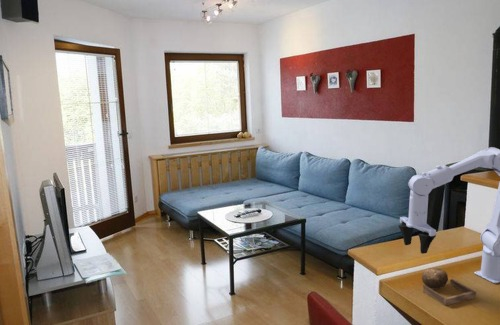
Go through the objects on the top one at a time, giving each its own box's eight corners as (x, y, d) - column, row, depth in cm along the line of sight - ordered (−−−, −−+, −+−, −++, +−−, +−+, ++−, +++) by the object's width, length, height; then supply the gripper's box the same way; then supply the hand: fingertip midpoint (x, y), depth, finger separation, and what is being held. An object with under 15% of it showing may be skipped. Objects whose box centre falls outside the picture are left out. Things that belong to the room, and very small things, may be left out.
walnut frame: (451, 284, 130) (452, 278, 130) (475, 297, 122) (476, 291, 121) (423, 291, 126) (423, 285, 125) (445, 305, 118) (445, 299, 117)
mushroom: (447, 271, 132) (440, 260, 129) (455, 291, 125) (448, 279, 123) (423, 279, 135) (416, 268, 132) (430, 298, 128) (423, 287, 126)
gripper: (393, 206, 138) (391, 242, 141) (425, 218, 125) (422, 259, 128) (409, 203, 141) (407, 239, 143) (442, 216, 127) (439, 255, 130)
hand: (415, 248), depth 136 cm, fingers open, 7 cm apart
